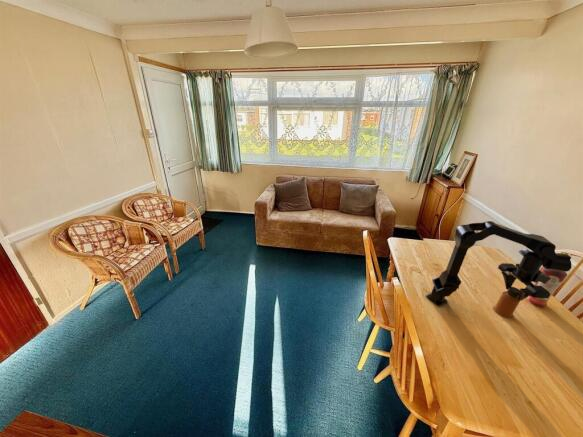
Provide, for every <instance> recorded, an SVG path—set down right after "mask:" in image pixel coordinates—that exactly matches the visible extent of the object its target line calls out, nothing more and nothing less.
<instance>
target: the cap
mask: <svg viewBox="0 0 583 437" xmlns="http://www.w3.org/2000/svg"><path fill="white" fill-rule="evenodd" d="M506 291H507V293H508V294H509V295H511V296H513V297H519V292H520V289H519V288H518V287H515V286H511V287H509V289H507V290H506Z"/></svg>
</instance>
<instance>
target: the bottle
mask: <svg viewBox="0 0 583 437" xmlns="http://www.w3.org/2000/svg"><path fill="white" fill-rule="evenodd" d="M507 291H508V290H506V291H502V293H501V295H500V296H499V298H498V300H497V302H496V304H495V306H494V308H493V310H494V311H495V312H496V313H497V314H498V315H500V316H502V317H504V318H511V317H513V315H514V313H515V311H516V309H517V308H518V305H519V304H520V303H521V301H519V300H518V297H513V296H511V295H509V294H508V293H507Z"/></svg>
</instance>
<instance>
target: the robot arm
mask: <svg viewBox="0 0 583 437" xmlns="http://www.w3.org/2000/svg"><path fill="white" fill-rule="evenodd" d="M454 233H455V234H454V241H455V244H454V247H453V250H452V253H451V255H450V258H449V260H448V263H447V266H446V269H445V270H443V271H442V272H441V273H440V275H439V276H437V277H435V278H433V279H431V283H432V284H433V287H432V290H431V293H430V294H428V295H426V298H427V299H428V300H430V301H431V302H433V303H434V304H435V305H436V306H442V305H444V304H445V303H447V302H448V300H447V299H446V297H448V298H449V297H450V296H451V295H452V294H453V293H454V292H456V291H458V290H459V289H460V286H461V284H462V280H461V278H460V277H459V273H460V270H461V268H462V265H463V262H464V261H465V258H466V255H467V254H468V253H467V252H468V250H469V249H471V248H472V247H474V246H475V244H476V242H479V241H483V240H485V239H487V238H488V237H491V236H497V237H499V238H503V239H505V240H508V241H511V242H514V243H517V244H519V245H522V246H524V247H525V249H521V250H519V251H518V253H519V254H520V255H521V256H522V258H521V260H520V262H519V263H516V264H514V263H507V262H504V263H503V262H502V263H500V264H498V267H497V269H498V270H499V271H500V274H502V277H503V280H504V286H505V289H506V290H508V289H509V287H513V285H514V284H515V281H516V280H518V281H519V282H520V283H522V284H524V285H525V288H523V287H521V288H520V289H519V290H520V292H519V297H518V300H519V301H520V302H522V301H524V300H525V299H528V298H527V297H529V296H531V297H533V298H549V296H550V292H549V291H547V290H546V289H545V288H543V287H542V286H535V284H534V283H537V282H538V281H539V282H542V283H543V284H546V283H547V282H548V281H549V280H550V279H551V278H550V277H549V276H547V275H546V274H545V273H543V272H541V271H542V270H541V267H542V268H543V267H544V268H545V269H550V270H557V271H564V272H566V273H568V272H569V271H571V269H572V261H571V259H572V257H571V255H570V256H569V255H567V254H561V253H556V247H557V246H556V245H555V244H554V243H553V242H551V240H549V239H547V238H546V237H545V236H543V235H539V234H535V233H525V232H521V231H518V230H515V229H513V228H510V227H507V226H504V225H502V224H499V223H496V222H495V221H491V220H487V221H483V222H471V223H468V224H461V225H459V226H457V227H456V229H455V232H454Z"/></svg>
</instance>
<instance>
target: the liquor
mask: <svg viewBox="0 0 583 437" xmlns="http://www.w3.org/2000/svg"><path fill="white" fill-rule="evenodd" d="M560 254H567V255H569V256H570V257H571V254H570V253H569V252H566V251H561V252H560ZM540 271H541V272H543V273H545V274H546V275H547V276H549V277H550V278H551V279H550V280H549V281H548V282H547V283H546V284H543V283H542V282H539V281H538V282H537V283H536V282H534V283H535V284H534V285H535V286H542V287H543V288H545V289H546V290H547V291H549V292H550V296H549V298H533V297H531V296H529V297H527V298H526V299H527V300H528V301H529V302H530V303H531V304H532V305H534V306H536V307H537V306H538V307H546V306H548V301H549V300H550V299H551V298H552V296H553V294H554V293H555V292H556V291H557V290H558V288H560V286H561V284H562V283H563V282H564V281H565V279H566V278H567V277H568V272H564V271H557V270H550V269H545V268H544V267H543V266H542V269H541V270H540Z"/></svg>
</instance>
